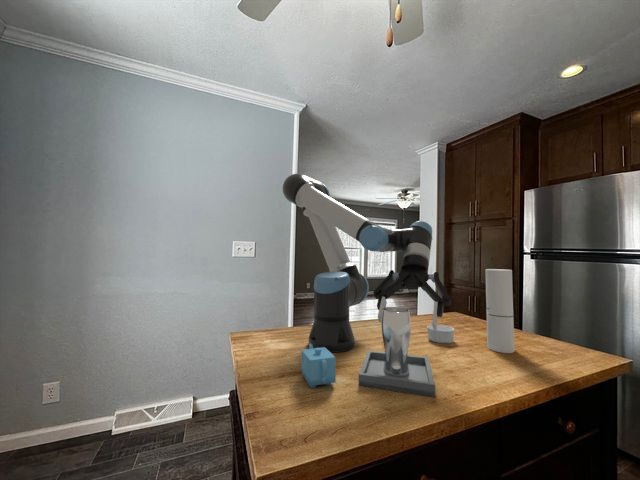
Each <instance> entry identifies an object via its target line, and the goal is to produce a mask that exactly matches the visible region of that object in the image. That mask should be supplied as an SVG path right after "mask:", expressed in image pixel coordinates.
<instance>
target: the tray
mask: <svg viewBox="0 0 640 480" xmlns="http://www.w3.org/2000/svg"><path fill="white" fill-rule="evenodd" d="M407 360H408V367H409V374H408V375H406V376H402V377H398V376H392V375H389V374H387V373H386V372H385V371H384V363H385V351H376V350H367V352H366V354H365V356H364V359H363V362H362V364H361V367H360V369H359V373H358V386H359V387H365V388H372V389H379V390H385V391H391V392H397V393H398V392H399V393H403V394H404V393H405V394H412V395H418V396H424V397H425V396H426V397H431V398H436V384H435V379H434V375H433V371H432V366H431V363H430V358H429V357H428V356H421V355H413V354H408V355H407Z"/></svg>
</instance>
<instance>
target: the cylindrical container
mask: <svg viewBox="0 0 640 480" xmlns="http://www.w3.org/2000/svg"><path fill="white" fill-rule="evenodd" d="M484 271H485V301H486V305H485V306H486V307H485V308H486V339H487V341H486V344H487V345H486V346H487V347H486V348H488V349H489V350H492V351H493V352H497V353H504V354H513V353H515V329H514V328H515V327H514V326H515V324H514V295H513V294H514V292H513V270H512V269H500V268H499V269H497V268H486V269H485V270H484Z"/></svg>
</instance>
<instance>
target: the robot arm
mask: <svg viewBox="0 0 640 480" xmlns="http://www.w3.org/2000/svg"><path fill="white" fill-rule="evenodd" d="M282 193H283V195H284V198H285V199H286V200H287V201H288V202H290V203H292V204H294V205H295V206H297V207H299V208H301V211H302V213H303V216H305V217H307V218H309V221H310V224H311V226H312V228H313V232H314V235H315V237H316V239H317V242H318V244H319V246H320V249H321V253H322V254H323V257H324V259H325V262H326V264H327V267H328V270H329V271H326V272H321V273H318V274H317V275H316V276H315V278H314V281H313V282H314V284H313V323H312V325H311V329H310V332H309V335H308V344H309V343H310V344H312V345H313V348H322V347H325V348H326V349H327V350H328V351H330V352H331V353H342V352H347V351H350V350H352V349H354V348H355V344H356V342H355V339H356V338H355V335H354V332H353V329H352V326H351V323H350V307H353V306H357V305H359V304H360V303H362V302H363V301H365V300H366V298H367V297H368V294H369V292H370V291H369V290H370V286H369V282H368V279H367V278H366V277H365V276H364V275H362V274H361V273H360V271H359V269H358V266H357V265H356V264H355V263H353V262H351V259H350V258H349V255H348V252H347V250H346V248H345V246H344V243H343V241H342V239H341V237H340V234H339V232H338V230H340V231H342V232H343V233H345V234H347V235H348V236H349V237H351V238H353V239H354V240H356V241H357V242H359V243H360V245H361V246H362V247H363V248H364V249H365V250H368V251H371V252H378V253H386V252H389V253H390V252H404V254H403V259H402V264H401V270H400V271H399V272H394V270H393V269H391V270H389V272H388V274H387V276H386V277H385V278H384V279H383V280H382V281H381V282H380V284H379V285H378V286H377V287H376V288H375V290H373V293H372V294H373V295H374V298H375V299H376V300H377V302H376V307H377V310H378V313H377V320H378V321H379V323H380V324H382V309H383V308H385V307H387V304H388V302H387V300H388V299H389V298H391V297H392V296H393V295H394V294H396V293H397V292H399V290H403V289H405V287H406V288H409V289H410V288H411V289H412V288H414V289H419V288H421V289H422V291H424V292H425V293H426V294H427V296H429V298H431V299H432V300H433V302H434V303H433V311H432V313H433V314H432V322H431V323H432V324H431V325H433V330H437V325H438V320H439V319H438V318H442V317H443V313H444V307H446V306H448V307H450V306H451V305H452V300H451V297H450V295H449V294H448V292H447V290H446V287H444V285H443V283H442V282H441V279H440V276H439V275H440V274H439V272H437V271H435V272H434V273H431V274H430V273H429V266H430V257H431V249H432V241H433V227H432V226H431V225H430V224H429V222H426V221H423V220H418V221H415V222H412V223H411V224H410V226H409V228H402V229H389V228H385V227H382V226H380V225H378V224H377V223H375V222H374V221H371V220H370V219H368V218H366V217H364V216H363V215H361V214H359V213H358V212H355V211H354V210H352V209H350V208H349V207H347V206H345V204H342V203H341V202H338V201H337V200H335V199H334V198H332V197H331V196H330V191H329V189H328V187H327V185H325V184H324V183H323V182H321V181H320V180H316V179H315V178H312V177H309V176H307V175H305V174H303V173H293V174H291V175H289V176H288V177H286V179H285V180H284V182H283V185H282ZM429 280H431V281H432V282H433V283H434V285H435V288H436V289H437V290H438V292H439V294H440V295H439V294H438V293H437V292H436V291H435V290H434V289H433V287H431V285H430V284H429V283H428V281H429ZM394 281H395V282H394ZM393 282H394V283H393Z"/></svg>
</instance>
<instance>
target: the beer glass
mask: <svg viewBox="0 0 640 480" xmlns="http://www.w3.org/2000/svg"><path fill="white" fill-rule="evenodd" d="M411 325H412V324H411V314H410V309H408V308H407V307H406V308H405V307H398V306H395V307H394V306H386V307H385V308H383V309H382V323H381V335H382V341H383V347H384V352H385V363H384V371H385V372H386V373H387V374H389V375H392V376H398V377H402V376H406V375H408V374H409V367H408V360H407V355H409V346H410V340H411V333H412V331H411V329H412V328H411V327H412V326H411Z"/></svg>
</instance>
